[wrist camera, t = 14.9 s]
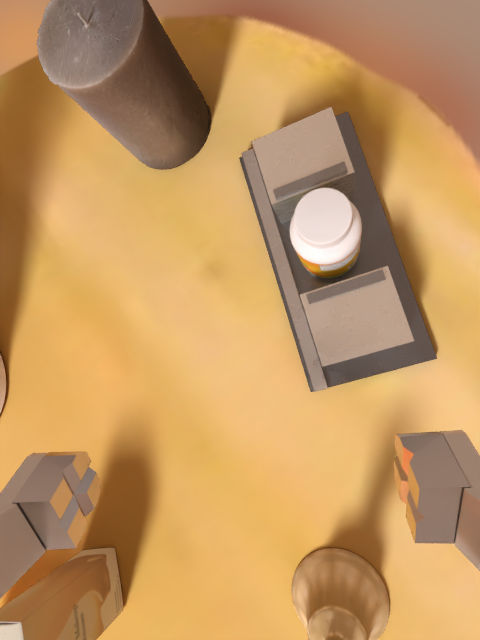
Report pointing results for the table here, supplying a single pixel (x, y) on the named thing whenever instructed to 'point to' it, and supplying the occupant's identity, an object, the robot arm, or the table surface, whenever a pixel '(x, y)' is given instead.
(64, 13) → the pillar candle
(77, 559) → the skincare box
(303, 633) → the table surface
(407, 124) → the table surface
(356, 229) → the supplement bottle
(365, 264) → the rail plate
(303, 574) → the hand bell
